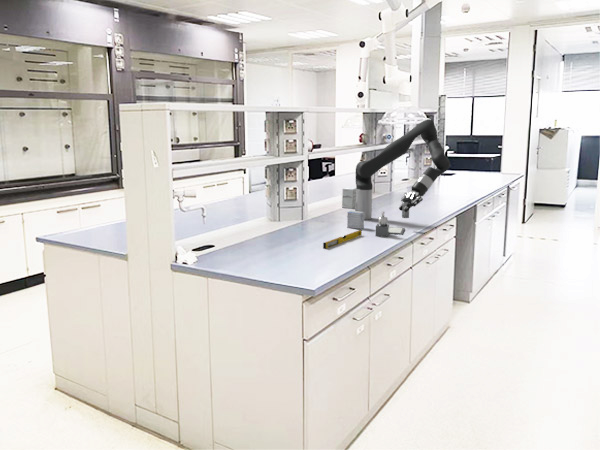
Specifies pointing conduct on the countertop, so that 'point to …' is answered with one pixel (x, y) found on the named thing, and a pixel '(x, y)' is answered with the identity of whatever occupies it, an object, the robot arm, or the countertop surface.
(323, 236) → the countertop surface
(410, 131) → the robot arm
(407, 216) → the salt shaker
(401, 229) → the mat
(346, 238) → the spirit level
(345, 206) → the supplement box
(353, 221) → the medicine box
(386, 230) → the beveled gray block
